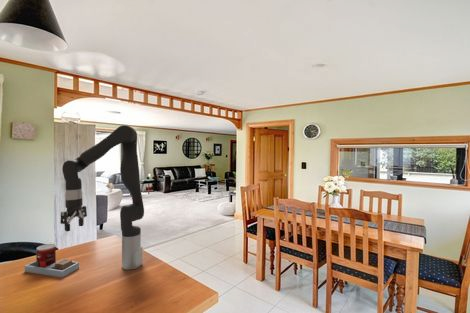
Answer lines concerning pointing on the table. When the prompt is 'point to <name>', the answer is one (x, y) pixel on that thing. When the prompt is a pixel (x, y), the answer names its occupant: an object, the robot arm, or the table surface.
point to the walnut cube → (63, 264)
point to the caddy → (51, 269)
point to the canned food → (46, 255)
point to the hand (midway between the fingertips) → (74, 228)
